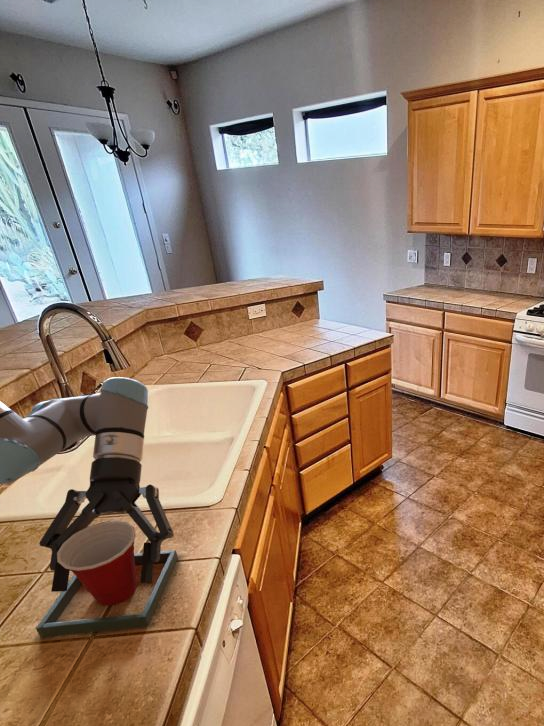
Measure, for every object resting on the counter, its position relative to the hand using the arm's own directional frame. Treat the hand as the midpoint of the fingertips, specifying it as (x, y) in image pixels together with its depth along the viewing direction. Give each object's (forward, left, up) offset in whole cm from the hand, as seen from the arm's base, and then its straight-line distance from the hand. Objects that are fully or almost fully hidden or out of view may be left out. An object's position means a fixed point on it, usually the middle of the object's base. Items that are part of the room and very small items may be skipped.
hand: (103, 587), depth 70 cm
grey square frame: (0, +2, -5) cm, 6 cm away
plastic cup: (0, +2, -5) cm, 5 cm away
